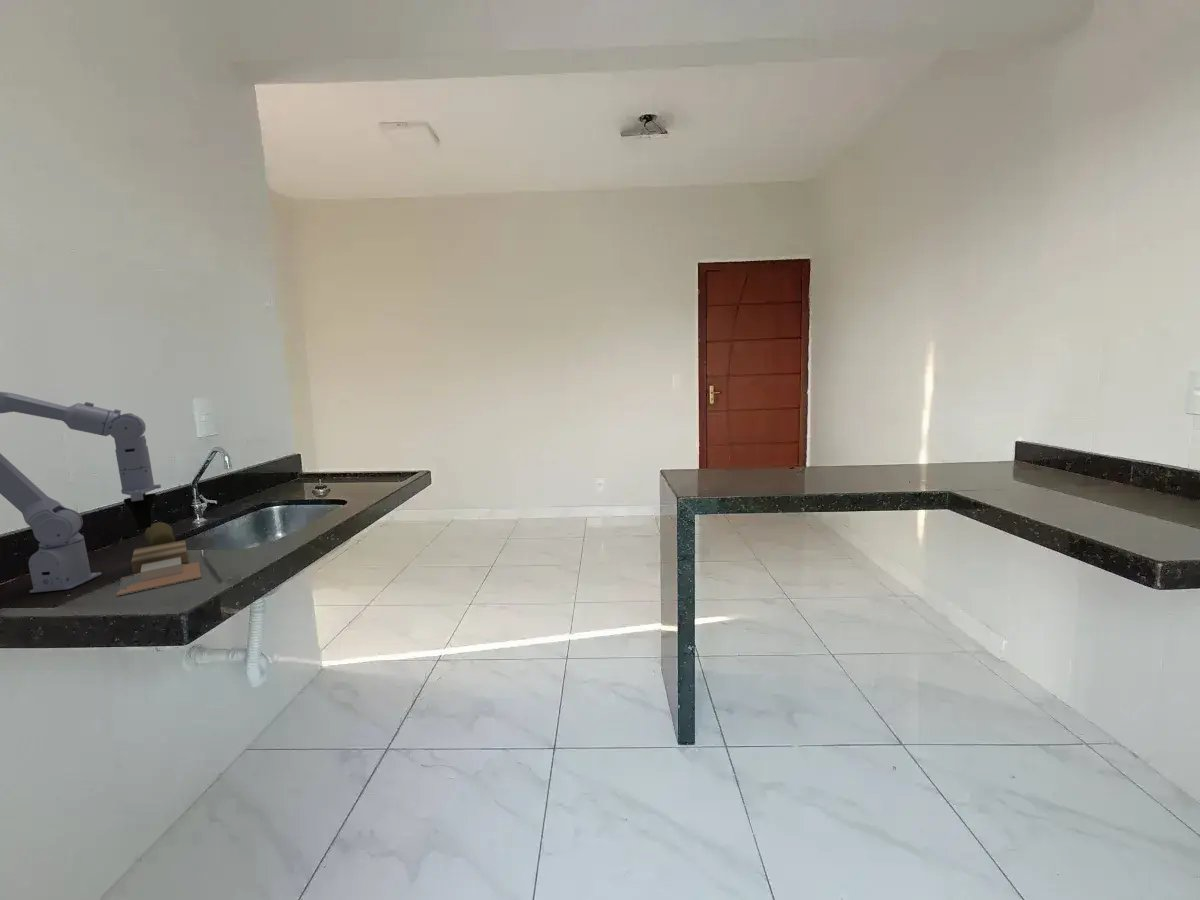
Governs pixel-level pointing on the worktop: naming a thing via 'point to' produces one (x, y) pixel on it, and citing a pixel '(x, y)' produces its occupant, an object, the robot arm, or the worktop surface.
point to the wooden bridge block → (158, 554)
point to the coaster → (161, 569)
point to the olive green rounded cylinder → (159, 534)
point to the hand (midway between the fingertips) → (145, 527)
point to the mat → (165, 579)
